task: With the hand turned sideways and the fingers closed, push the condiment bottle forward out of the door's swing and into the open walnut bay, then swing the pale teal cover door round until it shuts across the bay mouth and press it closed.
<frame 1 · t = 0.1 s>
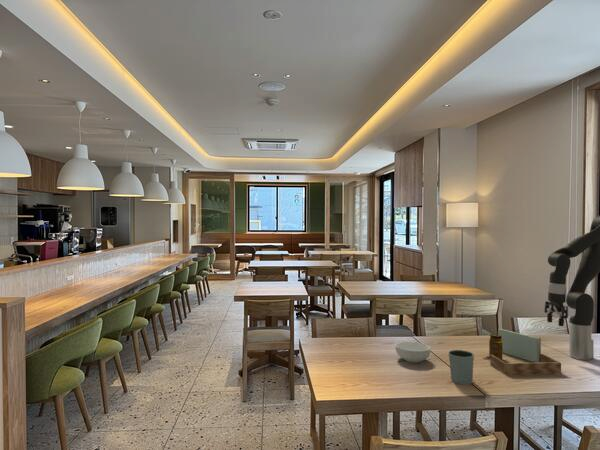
hand: (555, 324, 204), 17 cm above the table, tool pointing down, fingers open, 8 cm apart
condiment: (494, 359, 203), on the table
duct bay: (523, 368, 188), on the table
blue-grey cup: (461, 381, 174), on the table
cereal bowl: (412, 360, 201), on the table
cover door: (518, 345, 205), point 6 cm above the table, hinge at 65.0°
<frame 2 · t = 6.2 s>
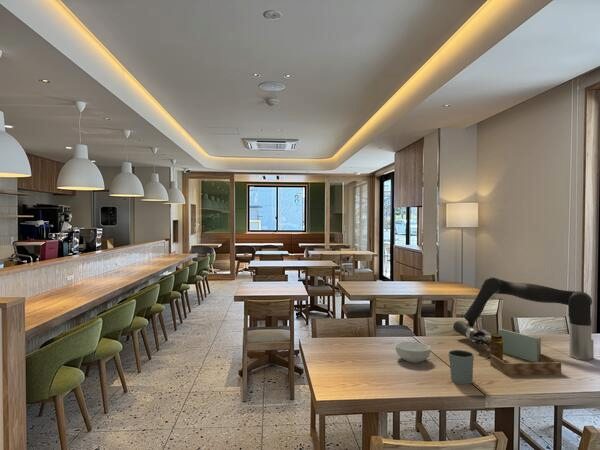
hand: (491, 344, 206), 6 cm above the table, tool horizontal, fingers closed
condiment: (495, 359, 203), on the table, touching gripper
everything else where it was.
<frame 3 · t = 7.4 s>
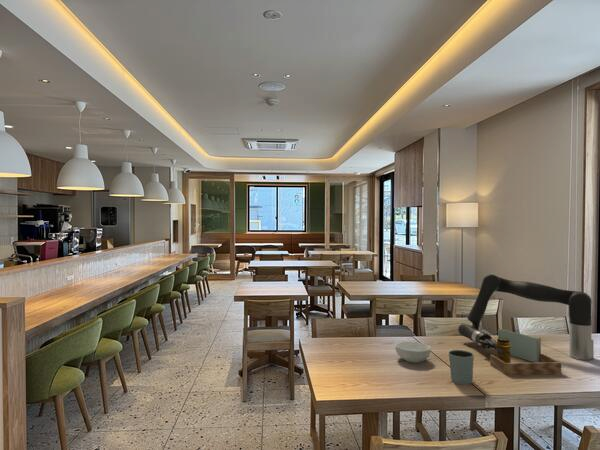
hand: (498, 348, 199), 6 cm above the table, tool horizontal, fingers closed
condiment: (501, 364, 196), on the table, touching gripper
everything else where it was.
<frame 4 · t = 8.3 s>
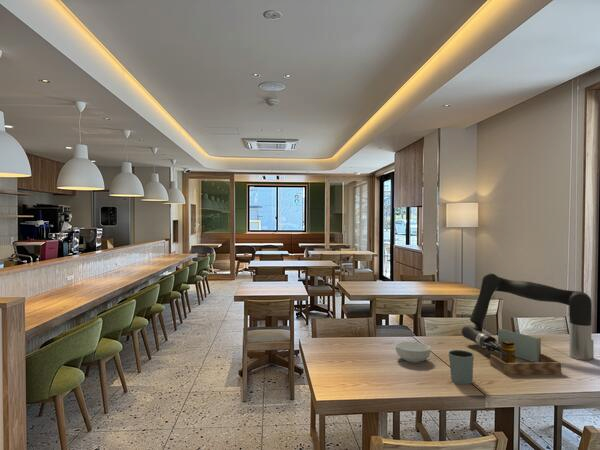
hand: (504, 351, 194), 6 cm above the table, tool horizontal, fingers closed
condiment: (506, 367, 191), on the table, touching gripper
everything else where it was.
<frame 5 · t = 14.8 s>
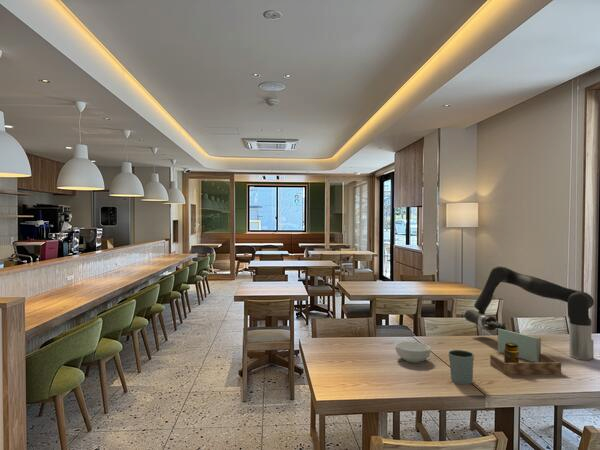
hand: (504, 328, 214), 13 cm above the table, tool horizontal, fingers closed
condiment: (509, 370, 188), on the table
cover door: (518, 345, 205), point 6 cm above the table, hinge at 64.5°
everything else where it was.
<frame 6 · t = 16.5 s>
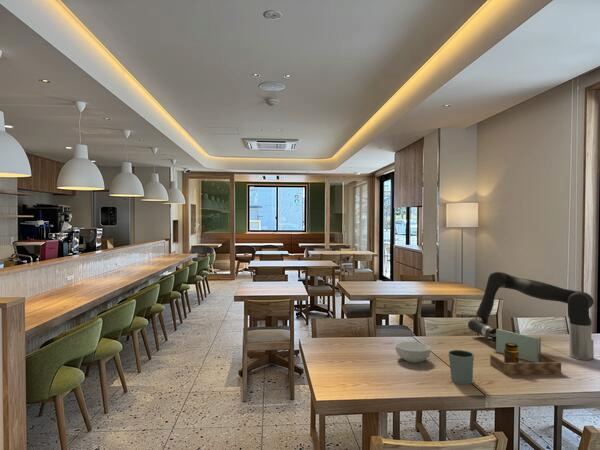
hand: (508, 341, 210), 6 cm above the table, tool horizontal, fingers closed
cover door: (517, 345, 205), point 6 cm above the table, hinge at 60.4°
everything else where it was.
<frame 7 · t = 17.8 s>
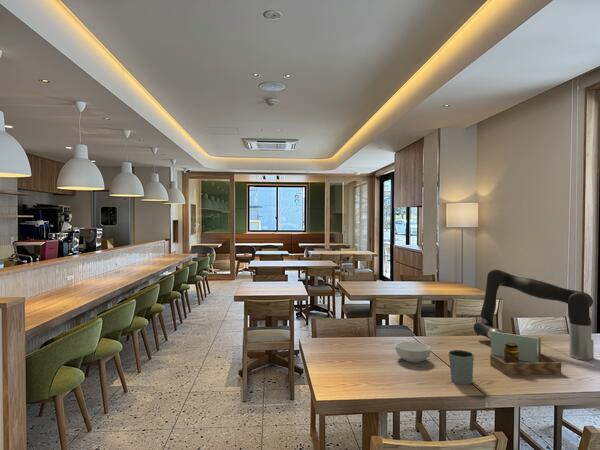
hand: (515, 345, 203), 6 cm above the table, tool horizontal, fingers closed
cover door: (515, 346, 202), point 6 cm above the table, hinge at 42.6°, touching gripper
everything else where it was.
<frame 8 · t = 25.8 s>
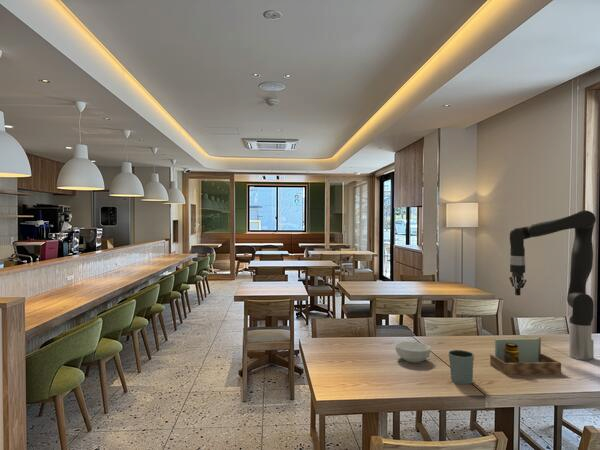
hand: (517, 295, 222), 29 cm above the table, tool pointing down, fingers closed
cover door: (518, 351, 195), point 6 cm above the table, hinge at -0.1°
everything else where it was.
at the end: cover door at +0° (first picture: +65°); condiment inside the target area (7.1 cm from its centre), on the table; condiment tilted 0° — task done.
